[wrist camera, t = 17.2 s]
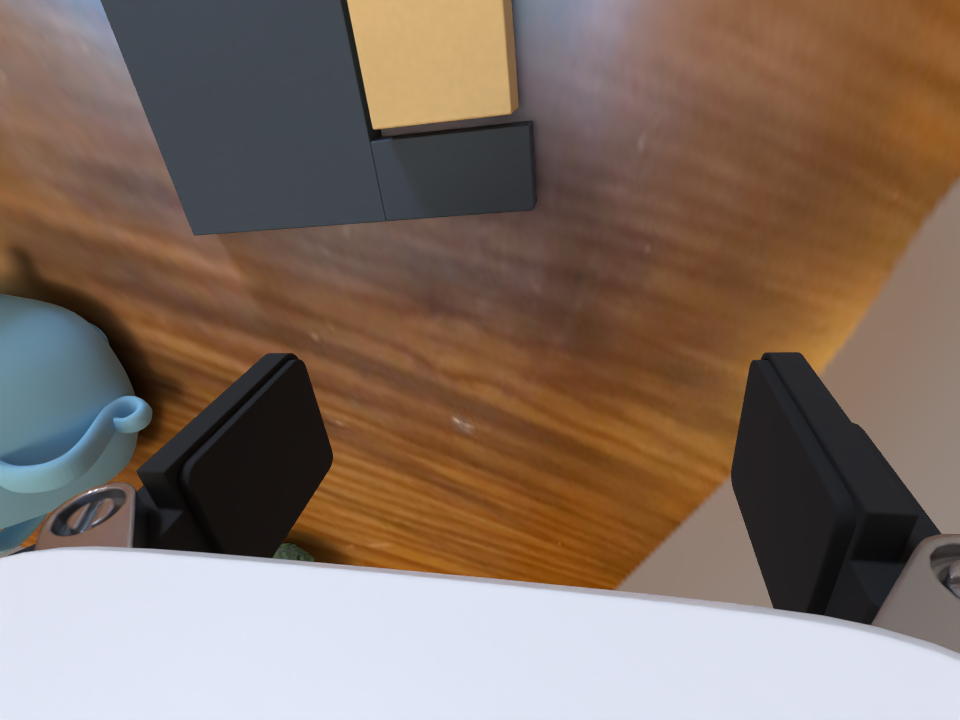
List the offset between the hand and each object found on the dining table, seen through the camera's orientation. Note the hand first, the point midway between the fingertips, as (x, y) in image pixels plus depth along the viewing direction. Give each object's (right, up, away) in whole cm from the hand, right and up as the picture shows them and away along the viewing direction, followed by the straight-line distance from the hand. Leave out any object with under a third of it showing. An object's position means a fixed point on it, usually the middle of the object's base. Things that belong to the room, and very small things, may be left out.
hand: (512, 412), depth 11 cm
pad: (-2, +16, +13) cm, 21 cm away
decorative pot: (-33, +1, +29) cm, 44 cm away
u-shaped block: (-8, +16, +15) cm, 23 cm away
